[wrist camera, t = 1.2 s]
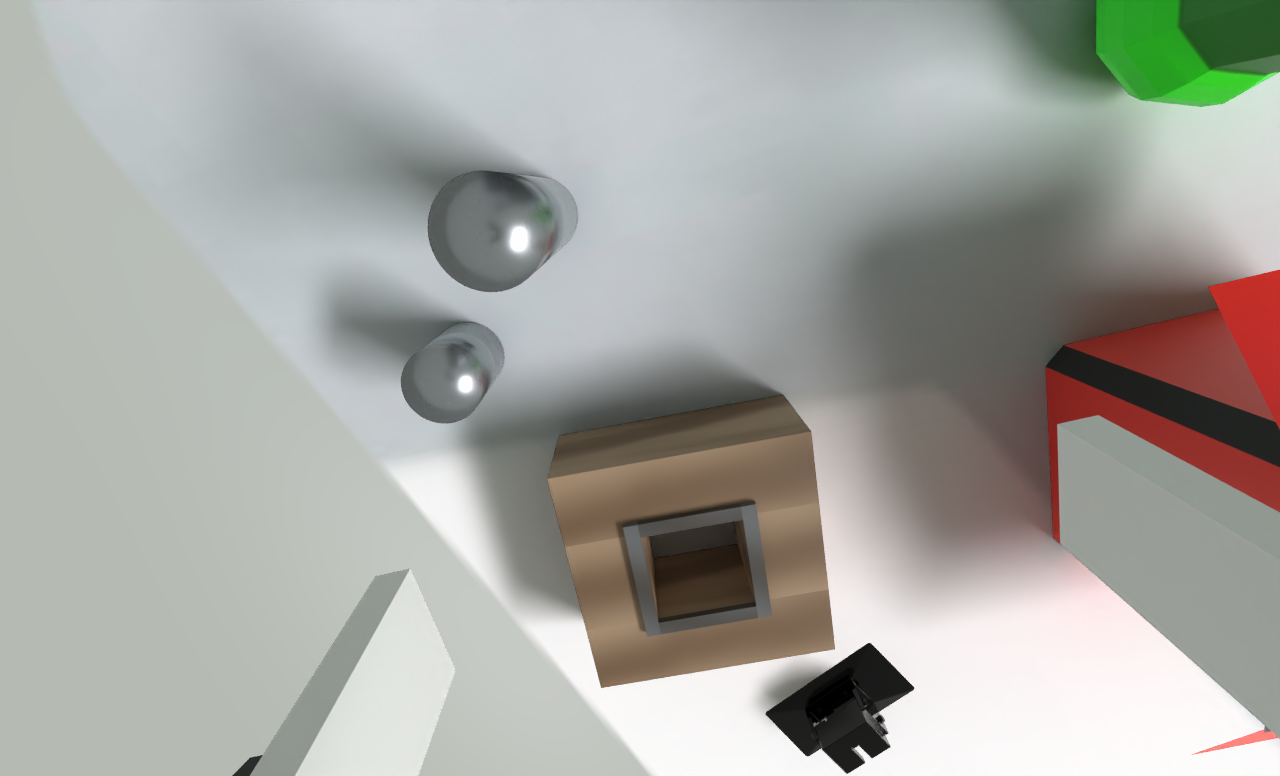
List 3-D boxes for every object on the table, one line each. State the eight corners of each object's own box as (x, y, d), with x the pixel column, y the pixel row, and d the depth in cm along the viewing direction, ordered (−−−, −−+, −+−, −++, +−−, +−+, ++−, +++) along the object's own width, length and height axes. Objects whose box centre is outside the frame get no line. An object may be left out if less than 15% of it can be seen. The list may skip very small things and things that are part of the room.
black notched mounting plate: (795, 765, 48) (812, 824, 43) (737, 710, 46) (749, 764, 42) (932, 678, 46) (964, 731, 41) (876, 616, 44) (903, 664, 39)
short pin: (427, 328, 36) (390, 355, 31) (494, 316, 36) (469, 340, 30) (447, 392, 37) (414, 429, 32) (511, 380, 37) (490, 415, 32)
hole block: (559, 435, 38) (546, 482, 32) (783, 394, 38) (813, 434, 32) (604, 621, 43) (600, 693, 37) (806, 586, 42) (837, 654, 36)
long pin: (497, 185, 34) (412, 183, 21) (569, 170, 34) (530, 160, 20) (515, 258, 35) (446, 301, 22) (584, 244, 35) (558, 280, 22)
